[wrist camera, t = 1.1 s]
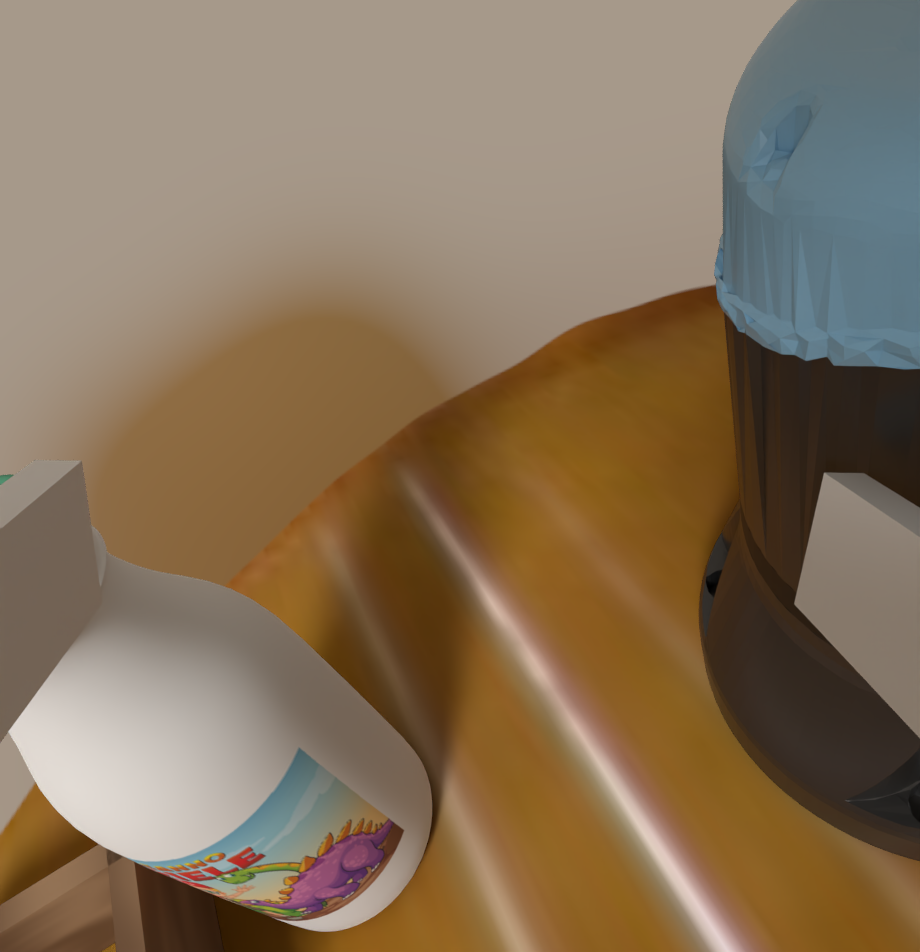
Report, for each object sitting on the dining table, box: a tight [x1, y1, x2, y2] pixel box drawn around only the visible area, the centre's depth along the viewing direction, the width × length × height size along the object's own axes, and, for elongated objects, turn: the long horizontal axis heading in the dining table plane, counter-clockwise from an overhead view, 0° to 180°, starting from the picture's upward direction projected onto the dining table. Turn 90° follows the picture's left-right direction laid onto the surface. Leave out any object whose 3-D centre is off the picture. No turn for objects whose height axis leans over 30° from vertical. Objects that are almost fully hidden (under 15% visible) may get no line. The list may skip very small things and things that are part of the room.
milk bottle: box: [0, 475, 432, 932], centre depth 23 cm, size 8×8×20 cm
